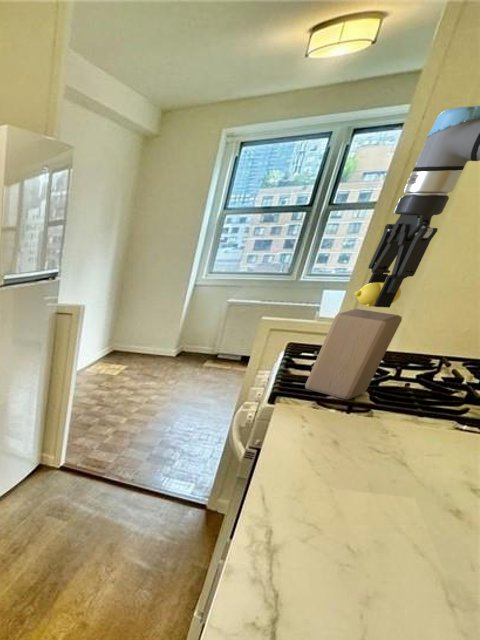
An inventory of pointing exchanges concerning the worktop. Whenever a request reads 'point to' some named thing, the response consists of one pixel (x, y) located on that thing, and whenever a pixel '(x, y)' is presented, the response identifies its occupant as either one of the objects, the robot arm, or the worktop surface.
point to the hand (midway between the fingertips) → (374, 304)
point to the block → (352, 352)
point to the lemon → (372, 293)
